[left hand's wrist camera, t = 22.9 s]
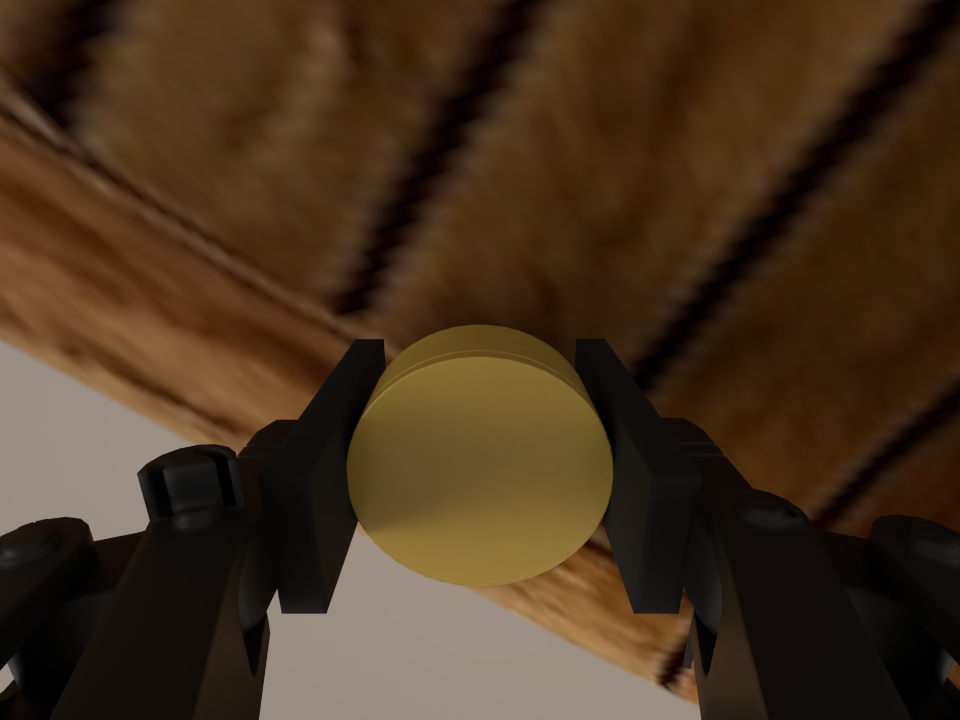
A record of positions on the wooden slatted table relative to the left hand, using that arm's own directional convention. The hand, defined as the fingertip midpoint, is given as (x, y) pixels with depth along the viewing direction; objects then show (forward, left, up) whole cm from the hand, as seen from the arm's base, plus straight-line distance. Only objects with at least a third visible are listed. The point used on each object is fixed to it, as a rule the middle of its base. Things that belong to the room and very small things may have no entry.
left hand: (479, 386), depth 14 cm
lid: (0, 0, +4) cm, 4 cm away
